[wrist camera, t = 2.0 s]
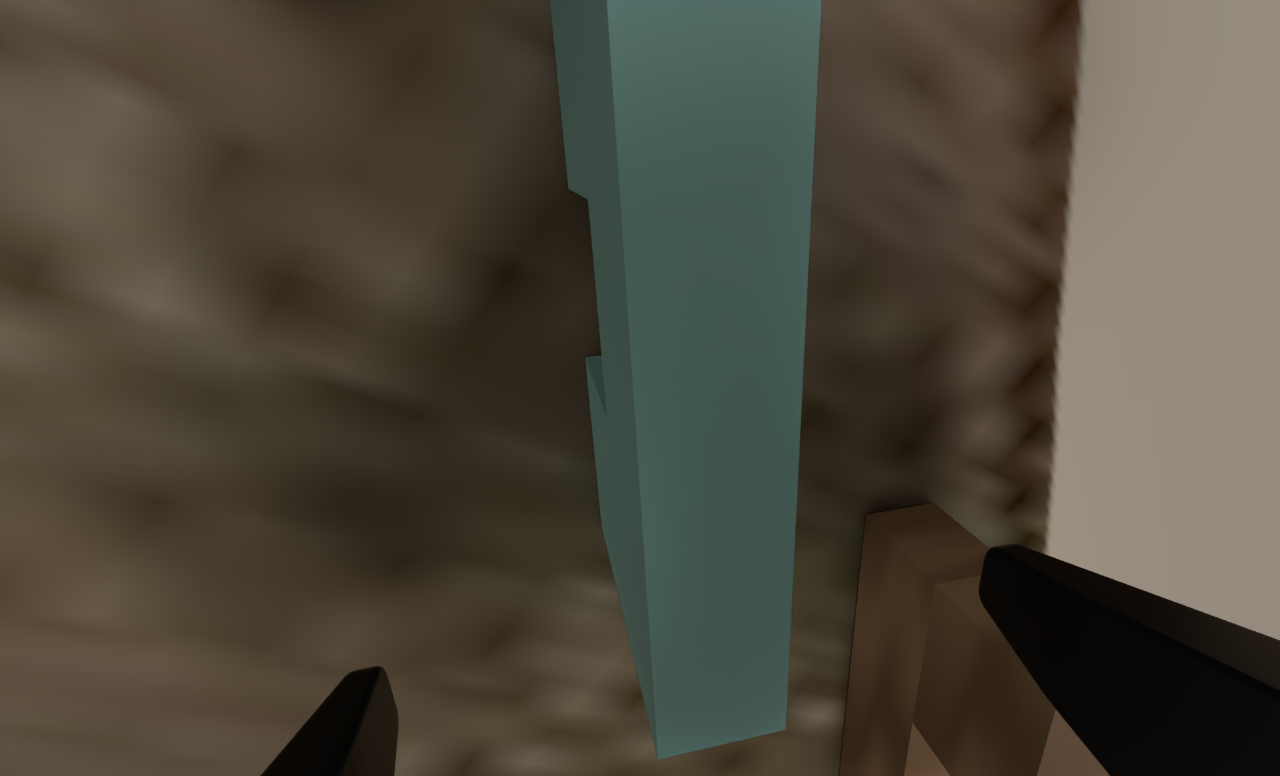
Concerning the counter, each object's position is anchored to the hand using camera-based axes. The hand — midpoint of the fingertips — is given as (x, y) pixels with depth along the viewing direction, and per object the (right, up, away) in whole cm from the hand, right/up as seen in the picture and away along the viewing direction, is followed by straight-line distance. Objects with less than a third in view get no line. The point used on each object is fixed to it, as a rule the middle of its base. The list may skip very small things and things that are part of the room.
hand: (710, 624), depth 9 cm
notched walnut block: (+6, -5, +9) cm, 13 cm away
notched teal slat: (-1, +6, +3) cm, 7 cm away
